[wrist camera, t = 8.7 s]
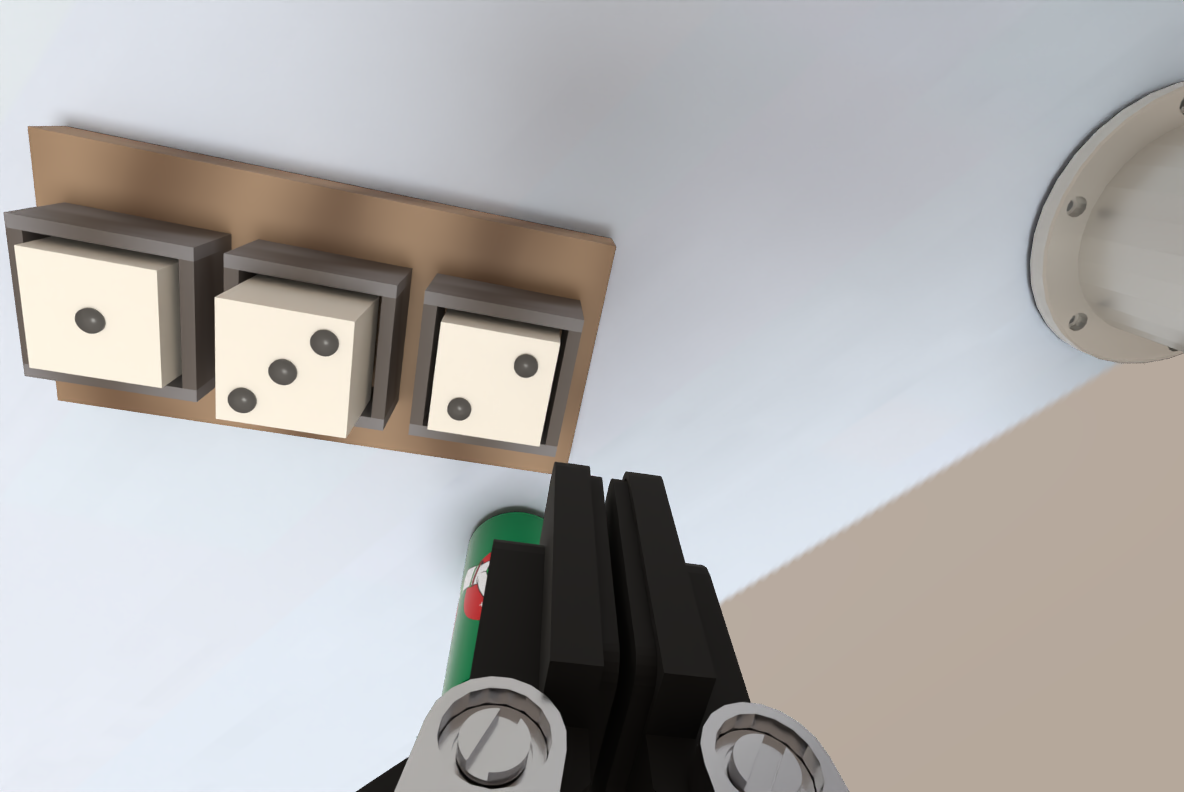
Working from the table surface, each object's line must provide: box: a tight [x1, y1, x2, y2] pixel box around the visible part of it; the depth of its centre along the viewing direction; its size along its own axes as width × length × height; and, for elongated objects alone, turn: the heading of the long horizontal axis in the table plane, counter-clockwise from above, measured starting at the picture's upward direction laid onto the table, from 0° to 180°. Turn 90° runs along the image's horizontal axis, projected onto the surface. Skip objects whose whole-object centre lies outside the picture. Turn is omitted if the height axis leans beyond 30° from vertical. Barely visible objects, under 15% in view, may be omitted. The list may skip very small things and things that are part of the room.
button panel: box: [4, 126, 616, 474], centre depth 26 cm, size 22×11×5 cm, turn 78°
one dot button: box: [14, 236, 182, 388], centre depth 24 cm, size 4×4×4 cm
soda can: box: [442, 512, 544, 696], centre depth 29 cm, size 5×5×12 cm
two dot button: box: [427, 308, 560, 447], centre depth 26 cm, size 4×4×4 cm
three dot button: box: [215, 274, 379, 438], centre depth 23 cm, size 4×4×4 cm
